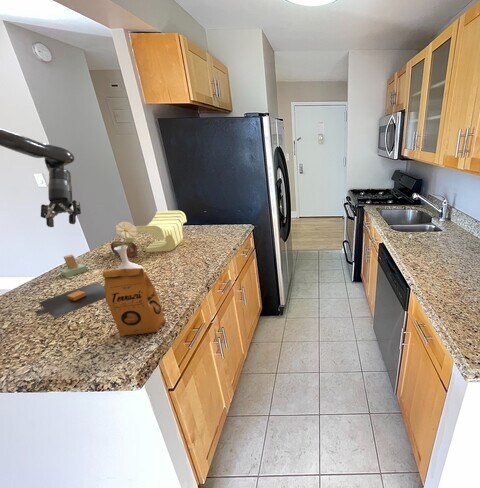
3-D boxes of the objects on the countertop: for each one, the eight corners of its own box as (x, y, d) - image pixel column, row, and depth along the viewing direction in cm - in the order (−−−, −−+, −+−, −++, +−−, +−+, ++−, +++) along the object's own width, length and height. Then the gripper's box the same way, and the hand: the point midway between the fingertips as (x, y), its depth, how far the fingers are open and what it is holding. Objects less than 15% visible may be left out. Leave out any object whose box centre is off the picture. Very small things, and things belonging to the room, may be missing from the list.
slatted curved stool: (169, 256, 138) (161, 225, 132) (137, 258, 137) (127, 226, 130) (190, 237, 166) (184, 210, 159) (163, 238, 164) (157, 211, 158)
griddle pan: (46, 325, 87) (45, 322, 87) (30, 308, 96) (29, 305, 96) (123, 293, 106) (123, 290, 105) (104, 281, 114) (103, 279, 114)
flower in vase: (116, 283, 112) (98, 229, 103) (111, 275, 120) (93, 223, 110) (151, 273, 121) (136, 222, 112) (144, 265, 128) (130, 217, 119)
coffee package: (157, 336, 82) (138, 275, 74) (114, 340, 81) (90, 278, 72) (170, 316, 91) (154, 260, 83) (132, 320, 90) (112, 263, 82)
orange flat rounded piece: (74, 300, 98) (73, 297, 98) (67, 298, 100) (66, 295, 99) (86, 295, 102) (85, 292, 101) (79, 293, 103) (78, 290, 103)
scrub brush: (65, 277, 118) (58, 260, 115) (62, 274, 120) (54, 258, 117) (87, 270, 124) (81, 254, 121) (83, 267, 126) (77, 252, 123)
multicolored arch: (112, 255, 140) (107, 240, 137) (118, 253, 143) (113, 238, 140) (135, 258, 137) (130, 243, 134) (140, 255, 140) (136, 241, 137)
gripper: (34, 190, 113) (34, 225, 110) (70, 185, 115) (72, 220, 112) (50, 196, 120) (51, 229, 117) (84, 192, 122) (85, 224, 119)
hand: (61, 225), depth 115 cm, fingers open, 8 cm apart
